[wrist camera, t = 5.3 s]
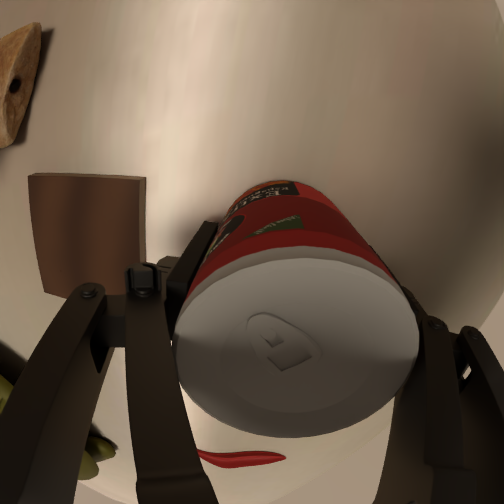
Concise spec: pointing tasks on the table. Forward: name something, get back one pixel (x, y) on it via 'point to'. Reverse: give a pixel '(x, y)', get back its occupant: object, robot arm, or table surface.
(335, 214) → the canned food
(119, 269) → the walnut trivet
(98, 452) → the spaceship
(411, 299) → the robot arm
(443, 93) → the table surface
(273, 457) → the cayenne pepper
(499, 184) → the table surface
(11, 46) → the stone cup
